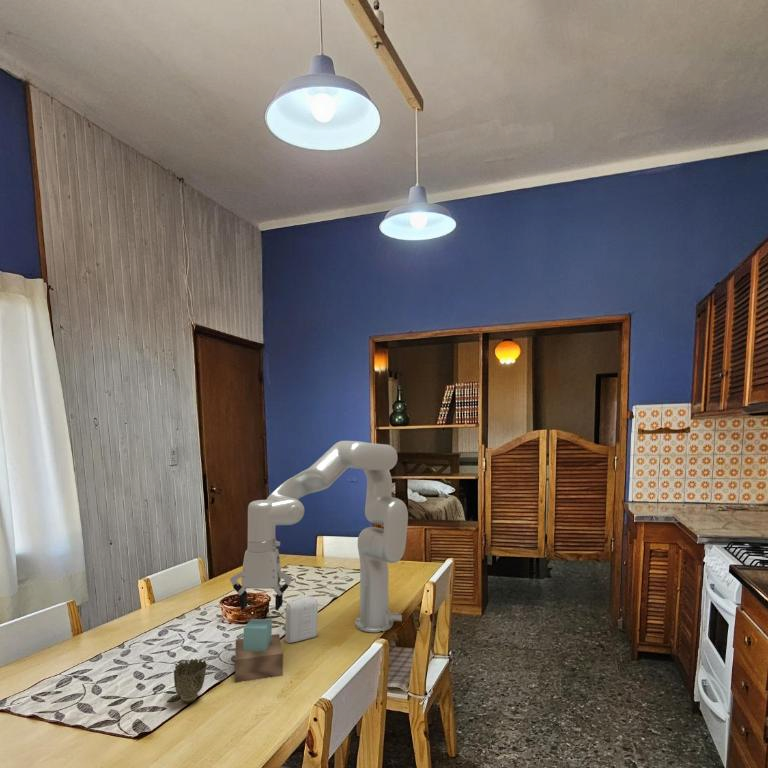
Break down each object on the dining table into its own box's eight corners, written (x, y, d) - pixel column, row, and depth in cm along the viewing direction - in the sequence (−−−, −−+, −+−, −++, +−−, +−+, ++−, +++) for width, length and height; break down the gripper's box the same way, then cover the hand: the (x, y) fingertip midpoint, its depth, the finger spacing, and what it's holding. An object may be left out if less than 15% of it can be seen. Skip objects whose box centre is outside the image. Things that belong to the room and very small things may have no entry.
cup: (178, 692, 118) (179, 658, 119) (209, 690, 119) (210, 657, 119) (167, 710, 111) (168, 674, 111) (199, 708, 111) (201, 673, 112)
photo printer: (313, 631, 152) (314, 592, 153) (319, 636, 149) (319, 596, 150) (283, 639, 147) (283, 598, 148) (288, 645, 143) (289, 603, 144)
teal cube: (271, 641, 133) (271, 619, 134) (265, 651, 127) (265, 628, 128) (250, 640, 134) (250, 618, 134) (243, 651, 128) (243, 628, 128)
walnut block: (278, 655, 138) (278, 634, 138) (282, 676, 126) (283, 653, 127) (235, 661, 134) (235, 639, 134) (235, 684, 123) (236, 659, 123)
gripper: (295, 542, 136) (294, 603, 135) (235, 541, 137) (235, 602, 136) (288, 549, 129) (288, 614, 128) (226, 549, 130) (225, 613, 128)
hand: (261, 608), depth 132 cm, fingers open, 9 cm apart
